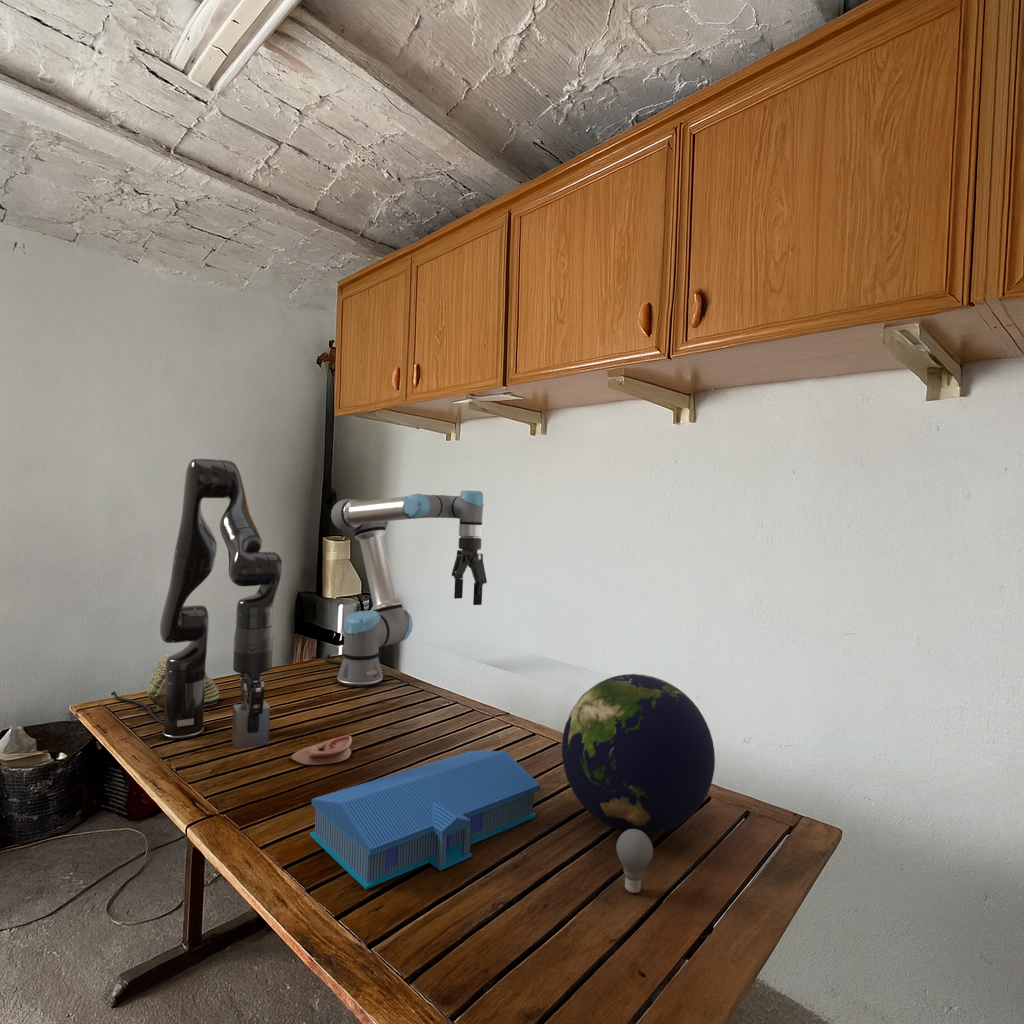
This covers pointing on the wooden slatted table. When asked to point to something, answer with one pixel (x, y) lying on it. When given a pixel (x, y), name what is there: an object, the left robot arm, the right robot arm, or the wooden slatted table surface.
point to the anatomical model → (325, 752)
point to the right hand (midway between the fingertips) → (467, 601)
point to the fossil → (158, 687)
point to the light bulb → (634, 857)
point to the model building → (423, 815)
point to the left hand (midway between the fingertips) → (250, 727)
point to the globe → (638, 754)
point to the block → (240, 727)
